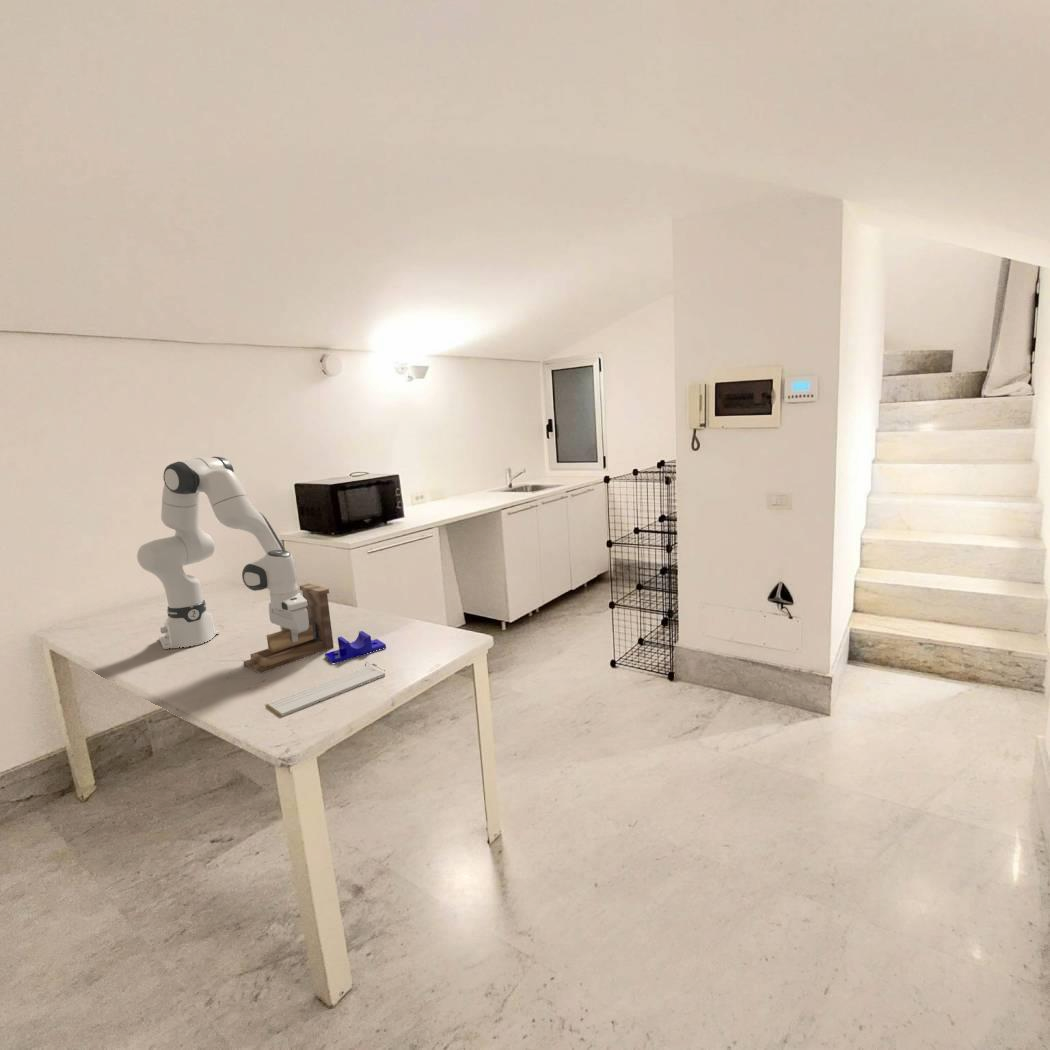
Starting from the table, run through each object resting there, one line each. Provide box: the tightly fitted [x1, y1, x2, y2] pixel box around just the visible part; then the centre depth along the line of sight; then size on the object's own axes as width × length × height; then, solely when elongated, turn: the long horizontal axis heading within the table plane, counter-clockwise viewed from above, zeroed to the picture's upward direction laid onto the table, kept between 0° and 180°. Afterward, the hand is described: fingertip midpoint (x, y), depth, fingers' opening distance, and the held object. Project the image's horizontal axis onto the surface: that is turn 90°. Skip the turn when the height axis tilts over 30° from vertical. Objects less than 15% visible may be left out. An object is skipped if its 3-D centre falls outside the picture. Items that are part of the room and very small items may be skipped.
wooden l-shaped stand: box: [243, 583, 335, 674], centre depth 196 cm, size 13×26×20 cm, turn 138°
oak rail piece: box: [266, 622, 317, 652], centre depth 197 cm, size 4×15×5 cm, turn 138°
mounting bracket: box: [324, 630, 387, 664], centre depth 196 cm, size 18×7×6 cm, turn 127°
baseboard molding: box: [265, 661, 386, 717], centre depth 170 cm, size 31×3×12 cm
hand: (291, 639), depth 197 cm, fingers closed on oak rail piece, 3 cm apart
